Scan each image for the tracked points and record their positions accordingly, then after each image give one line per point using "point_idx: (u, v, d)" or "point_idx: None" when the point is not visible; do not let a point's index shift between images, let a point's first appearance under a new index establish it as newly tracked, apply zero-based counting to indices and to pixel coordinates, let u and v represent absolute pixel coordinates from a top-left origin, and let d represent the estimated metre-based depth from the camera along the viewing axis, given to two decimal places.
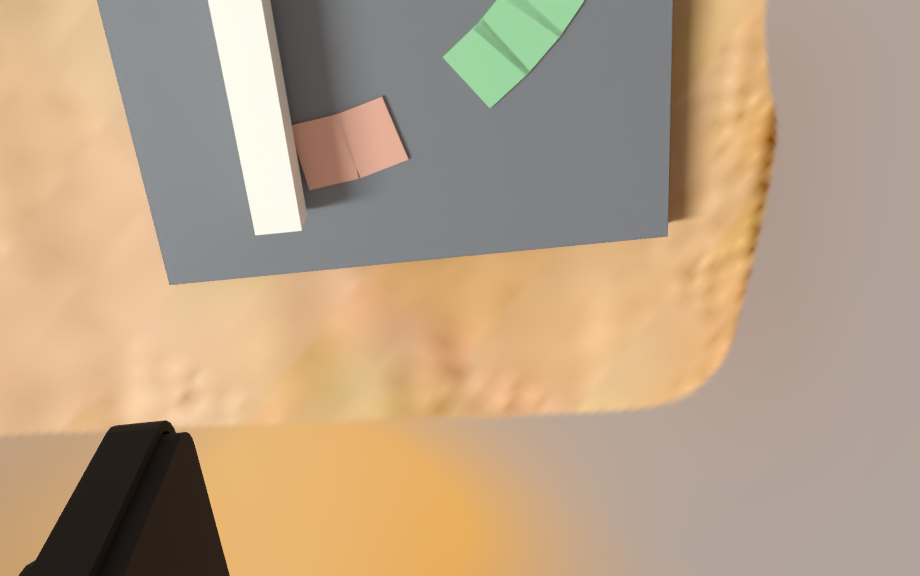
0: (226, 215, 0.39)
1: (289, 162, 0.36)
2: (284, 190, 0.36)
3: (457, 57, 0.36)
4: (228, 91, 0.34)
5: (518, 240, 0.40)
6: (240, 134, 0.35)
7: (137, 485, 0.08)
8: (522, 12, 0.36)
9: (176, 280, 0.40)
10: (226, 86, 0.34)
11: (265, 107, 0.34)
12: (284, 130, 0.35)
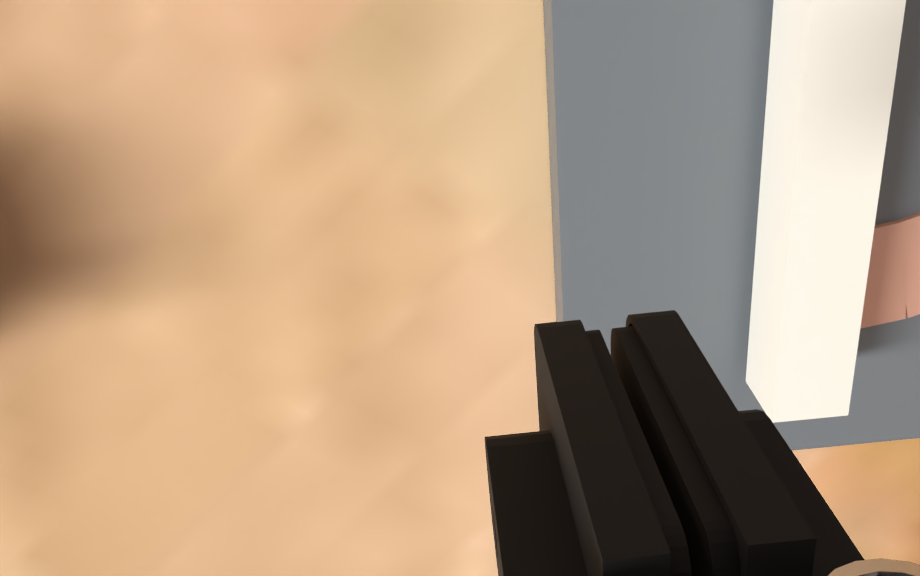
0: None
1: (860, 312, 0.21)
2: (839, 355, 0.22)
3: None
4: (796, 201, 0.20)
5: None
6: (795, 269, 0.20)
7: (599, 365, 0.09)
8: None
9: None
10: (794, 192, 0.20)
11: (849, 226, 0.20)
12: None
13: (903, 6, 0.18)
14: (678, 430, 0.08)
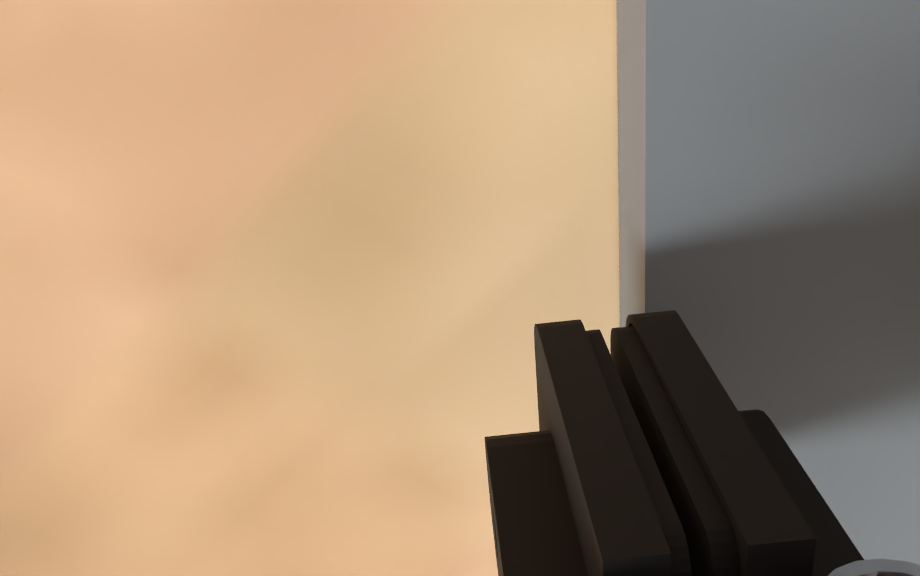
0: None
1: None
2: None
3: None
4: None
5: None
6: None
7: (599, 365, 0.09)
8: None
9: None
10: None
11: None
12: None
13: None
14: (678, 430, 0.08)
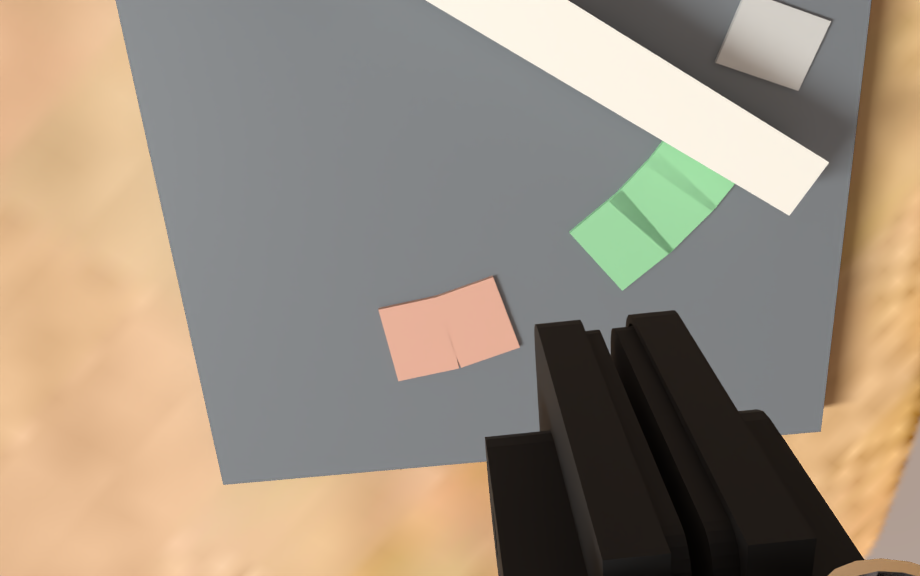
0: (296, 407, 0.32)
1: (751, 115, 0.26)
2: (774, 145, 0.26)
3: (587, 233, 0.30)
4: (632, 119, 0.26)
5: None
6: (682, 143, 0.26)
7: (599, 365, 0.09)
8: (669, 182, 0.29)
9: (231, 479, 0.33)
10: (626, 117, 0.26)
11: (679, 93, 0.26)
12: (716, 92, 0.26)
13: None
14: (678, 430, 0.08)
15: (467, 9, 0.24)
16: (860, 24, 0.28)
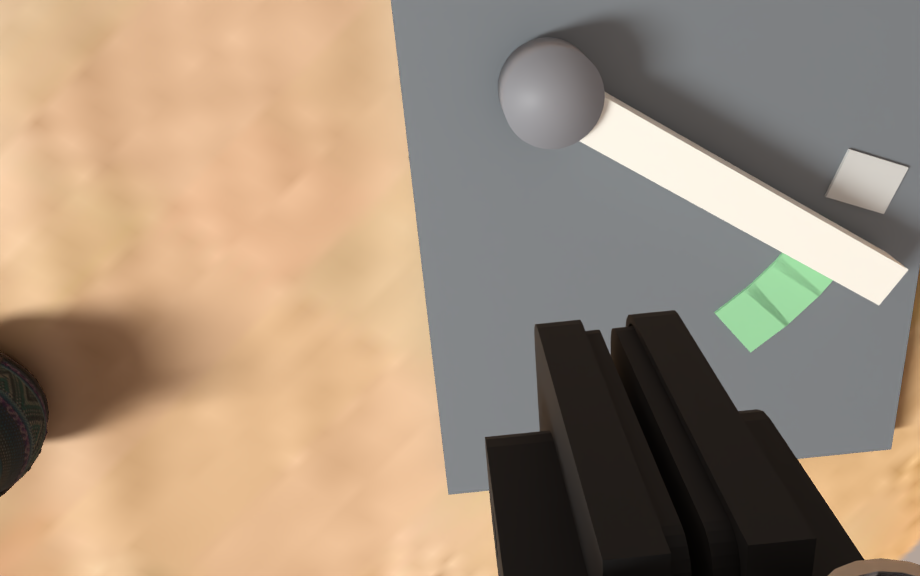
0: None
1: (855, 240, 0.37)
2: (870, 259, 0.38)
3: (727, 313, 0.41)
4: (773, 245, 0.37)
5: None
6: (806, 259, 0.38)
7: (599, 365, 0.09)
8: (787, 277, 0.41)
9: (455, 490, 0.45)
10: (768, 243, 0.37)
11: (806, 227, 0.37)
12: (831, 225, 0.37)
13: (722, 165, 0.36)
14: (678, 430, 0.08)
15: (665, 177, 0.36)
16: None
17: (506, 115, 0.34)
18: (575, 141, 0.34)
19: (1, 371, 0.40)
